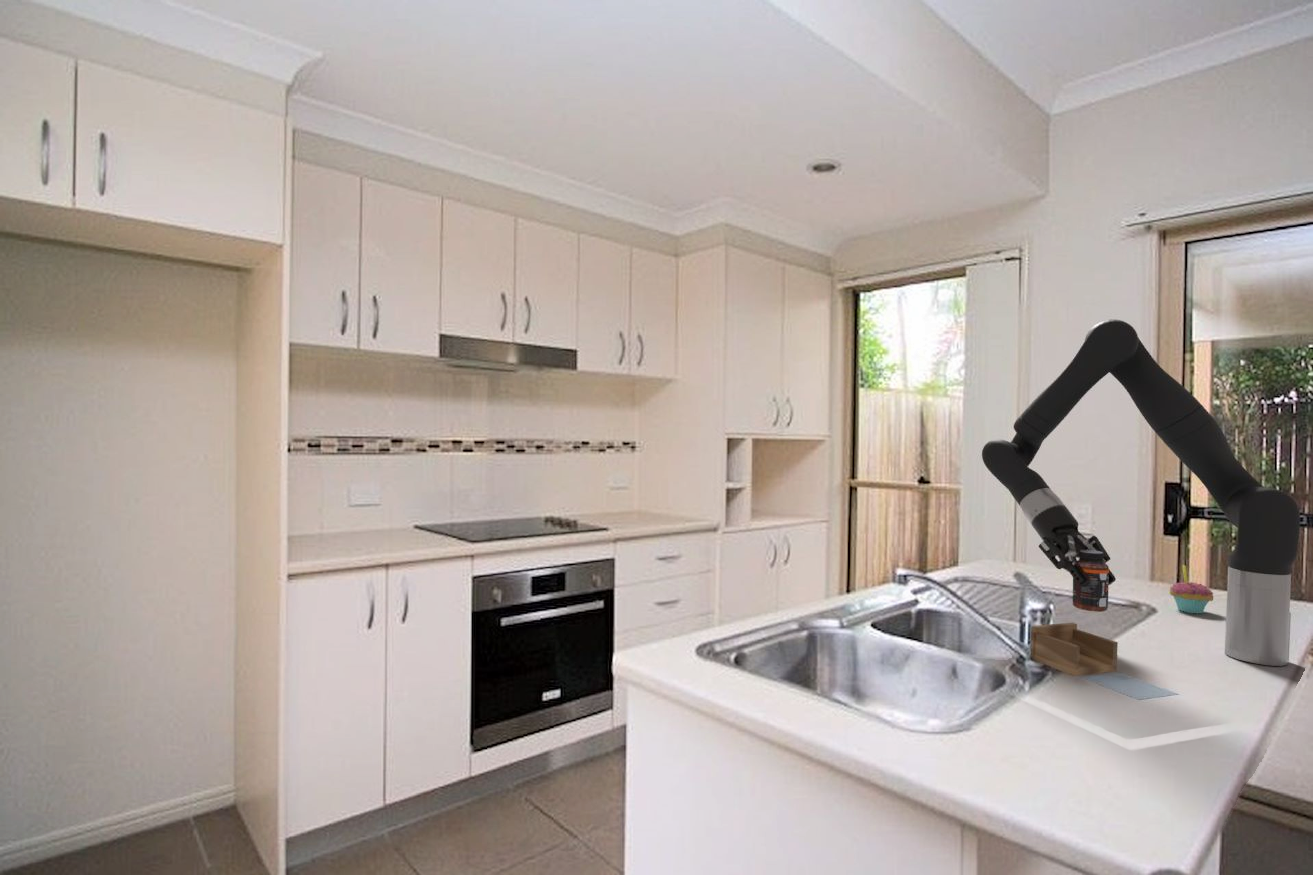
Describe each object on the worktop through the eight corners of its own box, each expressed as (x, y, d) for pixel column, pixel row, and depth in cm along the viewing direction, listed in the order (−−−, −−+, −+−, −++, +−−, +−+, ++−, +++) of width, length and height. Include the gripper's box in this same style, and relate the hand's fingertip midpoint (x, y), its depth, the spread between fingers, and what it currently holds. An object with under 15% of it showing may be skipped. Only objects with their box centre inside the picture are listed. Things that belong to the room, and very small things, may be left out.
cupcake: (1180, 614, 166) (1182, 564, 166) (1161, 605, 175) (1163, 558, 175) (1220, 617, 165) (1223, 567, 165) (1199, 608, 173) (1201, 560, 173)
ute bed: (1070, 659, 130) (1072, 622, 130) (1116, 675, 122) (1117, 636, 122) (1030, 663, 127) (1031, 626, 127) (1073, 681, 119) (1075, 640, 119)
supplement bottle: (1113, 613, 132) (1115, 554, 132) (1079, 611, 134) (1080, 553, 133) (1100, 605, 138) (1101, 549, 138) (1067, 603, 139) (1068, 547, 139)
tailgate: (1119, 672, 121) (1178, 693, 111) (1119, 678, 121) (1178, 700, 111) (1081, 677, 118) (1138, 699, 109) (1080, 682, 118) (1138, 705, 109)
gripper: (1032, 504, 140) (1084, 575, 129) (1085, 502, 145) (1139, 570, 134) (1010, 526, 145) (1058, 596, 134) (1062, 524, 150) (1113, 591, 139)
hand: (1098, 583), depth 134 cm, fingers closed on supplement bottle, 6 cm apart
